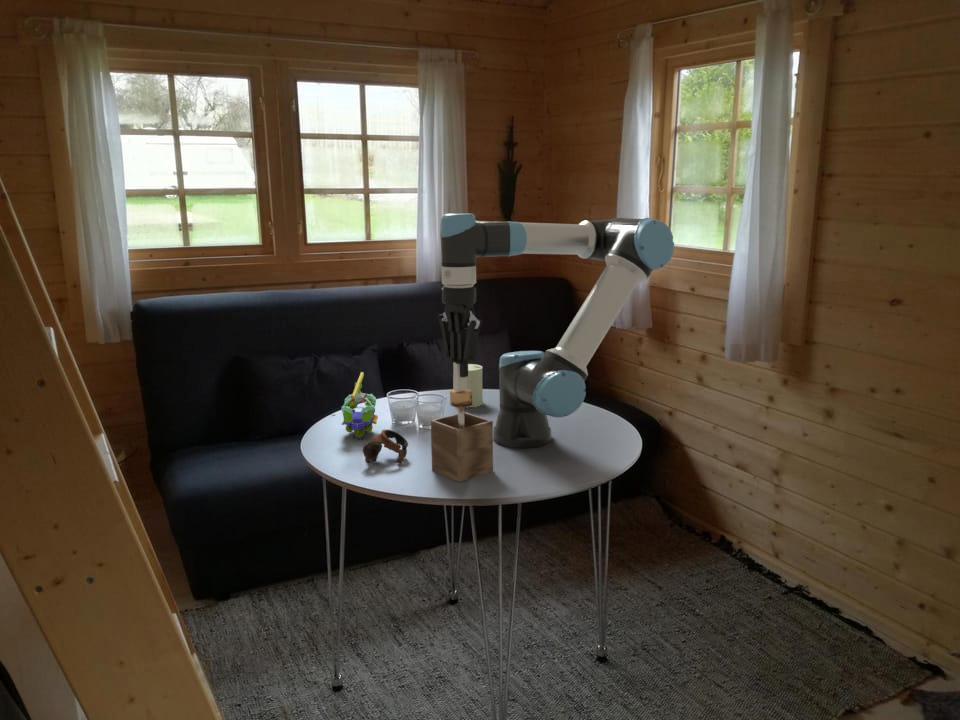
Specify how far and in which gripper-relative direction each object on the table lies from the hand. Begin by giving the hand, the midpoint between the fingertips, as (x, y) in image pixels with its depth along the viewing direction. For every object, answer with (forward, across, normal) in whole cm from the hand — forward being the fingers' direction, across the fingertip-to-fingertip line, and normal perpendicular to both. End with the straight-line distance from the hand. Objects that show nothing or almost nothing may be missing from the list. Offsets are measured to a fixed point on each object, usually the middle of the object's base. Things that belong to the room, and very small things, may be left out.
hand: (460, 390), depth 163 cm
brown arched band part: (+20, -18, -10) cm, 28 cm away
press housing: (+19, 0, 0) cm, 19 cm away
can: (+19, -42, +37) cm, 59 cm away
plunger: (+17, 0, 0) cm, 17 cm away
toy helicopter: (+20, -38, -3) cm, 43 cm away
